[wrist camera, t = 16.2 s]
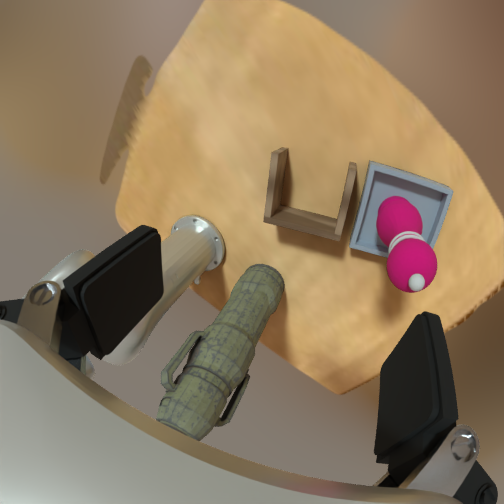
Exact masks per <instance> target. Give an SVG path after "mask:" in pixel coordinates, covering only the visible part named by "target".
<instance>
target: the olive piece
mask: <svg viewBox="0 0 504 504" xmlns="http://www.w3.org/2000/svg"><path fill="white" fill-rule="evenodd" d="M284 285H285V284H284V280H283V278H282V276H281V274H280V273H279V272H278V271H277V270H276V269H274V268H272V267H271V266H268V265H264V264H255V265H253V266H250V267H249V268H248V269H247V270H246V271H245V273H244V274H243V275H242V276H241V277H240V279H239V280H238V282H237V283H236V285H235V286H234V288H233V290H232V292H231V297H230V299H229V300H228V302H227V303H226V305H225V306H224V308H223V309H222V310H221V312H220V313H219V315H218V316H217V318H216V319H215V321H214V322H213V324H212V325H210V326H208V327H207V328H206V329H205V330H204V331H195V332H193V333H192V334H190V335H189V337H188V338H187V340H186V341H185V343H184V344H183V345H182V347H181V348H180V349H179V351H178V352H177V353H176V354H175V355H174V357H173V358H172V359H171V360H170V362H169V363H168V364H167V365H166V367H165V368H164V369H163V371H162V372H161V384H162V385H163V386H164V388H166V392H167V393H166V394H165V396H164V397H163V399H162V400H161V403H160V406H159V410H158V414H157V418H156V420H157V421H158V422H160V423H162V424H164V425H166V426H168V427H170V428H172V429H174V430H176V431H178V432H180V433H182V434H184V435H186V436H189V437H191V438H193V439H195V440H197V441H200V440H201V439H203V438H204V437H205V436H206V435H207V434H208V433H209V432H210V431H211V430H212V429H213V427H214V426H215V427H216V426H218V427H219V426H223V425H225V424H227V423H229V422H230V420H231V418H232V416H233V414H234V412H235V410H236V408H237V406H238V404H239V402H240V400H241V397H242V395H243V394H244V391H245V389H246V387H247V384H248V381H249V378H250V376H249V375H248V374H247V373H248V370H249V369H248V368H249V366H250V364H251V362H252V360H253V358H254V355H255V347H256V344H257V342H258V340H259V338H260V336H261V334H262V332H263V330H264V328H265V325H266V323H267V321H268V319H269V317H270V315H271V314H272V313H273V312H275V311H276V309H277V306H278V304H279V302H280V299H281V295H282V293H283V291H284ZM194 343H195V345H194ZM193 345H194V346H193ZM192 346H193V347H192ZM191 347H192V349H191ZM190 349H191V351H190V352H189V350H190ZM188 352H189V356H188V360H187V364H186V365H185V366H184V368H183V372H182V373H181V374H180V375H179V376H178V377H177V378H176V380H175V381H174V383H173V381H172V374H173V373H174V372H175V370H176V369H177V367H178V366H179V364H180V363H181V362H182V360H183V359H184V357H185V355H187V353H188ZM236 387H237V388H236ZM235 388H236V390H235V392H234V394H233V396H232V398H231V400H230V402H229V404H228V406H227V408H226V410H225V411H224V413H223V415H222V417H221V418H220V417H219V416H220V414H221V412H222V410H223V409H224V407H225V405H226V403H227V398H228V397H229V396H230V394H231V393H232V391H233V389H235Z"/></svg>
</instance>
